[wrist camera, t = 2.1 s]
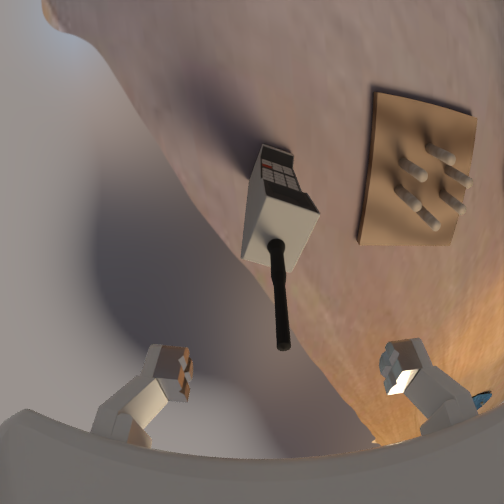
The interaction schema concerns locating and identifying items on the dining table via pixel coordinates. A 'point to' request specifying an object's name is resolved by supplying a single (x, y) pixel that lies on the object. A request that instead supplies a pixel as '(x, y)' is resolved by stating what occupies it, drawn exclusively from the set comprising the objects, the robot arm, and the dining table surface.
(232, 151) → the dining table surface
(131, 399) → the robot arm
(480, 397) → the decorative plate
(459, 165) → the pin dock
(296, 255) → the vintage mobile phone
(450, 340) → the dining table surface
